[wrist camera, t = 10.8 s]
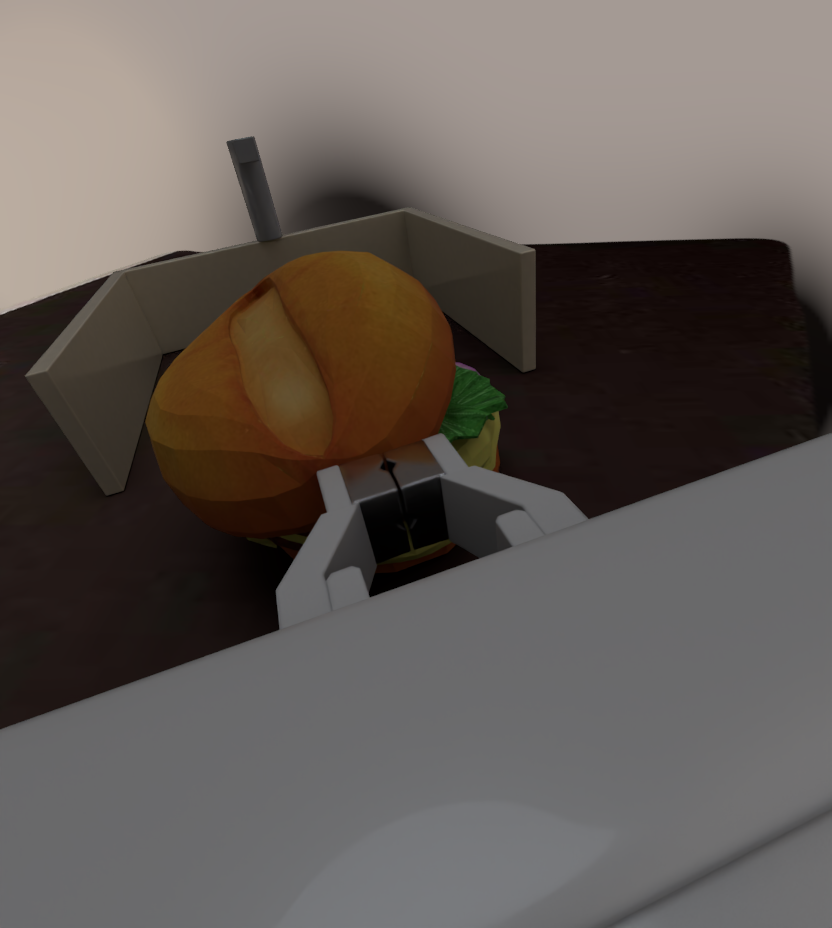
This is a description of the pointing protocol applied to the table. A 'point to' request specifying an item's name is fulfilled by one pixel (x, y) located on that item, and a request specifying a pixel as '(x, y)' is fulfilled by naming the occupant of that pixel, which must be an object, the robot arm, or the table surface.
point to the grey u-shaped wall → (237, 272)
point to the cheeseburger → (314, 396)
